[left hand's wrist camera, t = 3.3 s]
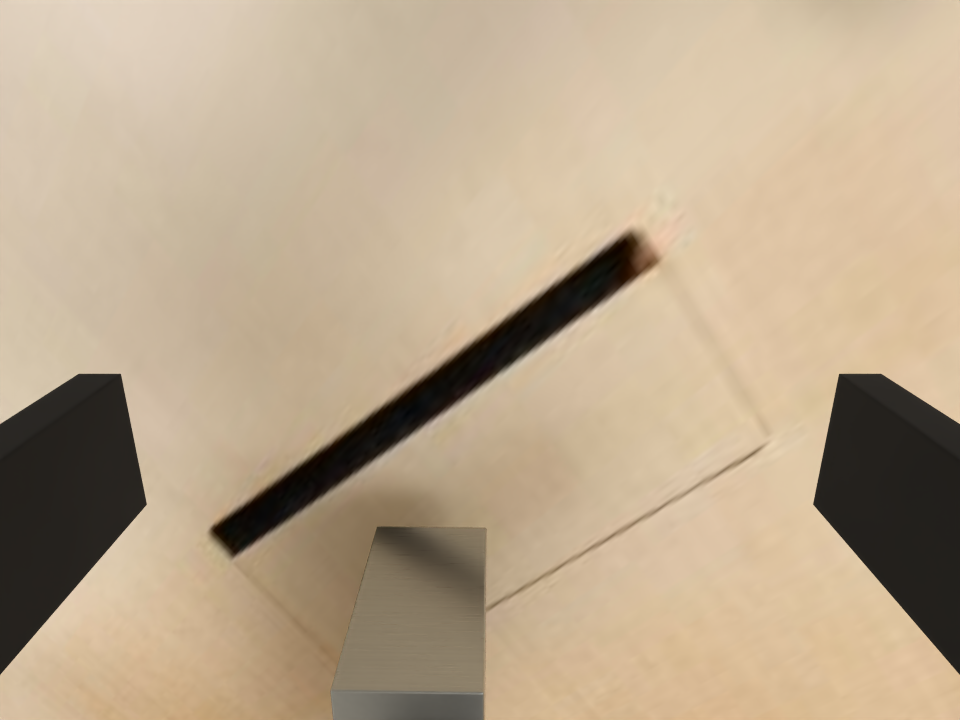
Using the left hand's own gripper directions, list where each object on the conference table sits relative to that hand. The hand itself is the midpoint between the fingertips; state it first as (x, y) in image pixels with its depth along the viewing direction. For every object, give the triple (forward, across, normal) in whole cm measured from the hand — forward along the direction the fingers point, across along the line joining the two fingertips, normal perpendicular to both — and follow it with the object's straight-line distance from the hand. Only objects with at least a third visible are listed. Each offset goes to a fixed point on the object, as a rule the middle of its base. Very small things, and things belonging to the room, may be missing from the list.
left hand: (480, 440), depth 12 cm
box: (+20, -3, -26) cm, 33 cm away
